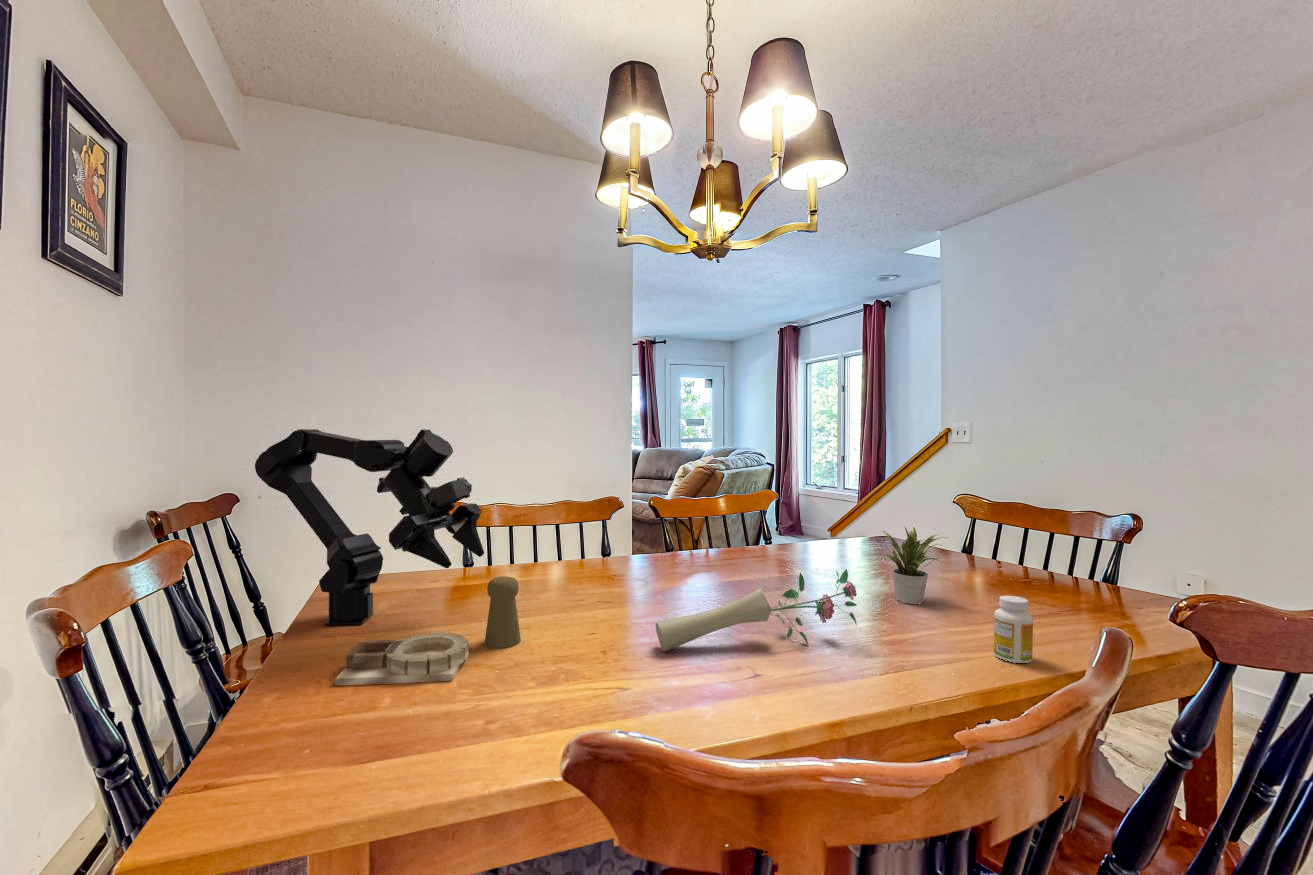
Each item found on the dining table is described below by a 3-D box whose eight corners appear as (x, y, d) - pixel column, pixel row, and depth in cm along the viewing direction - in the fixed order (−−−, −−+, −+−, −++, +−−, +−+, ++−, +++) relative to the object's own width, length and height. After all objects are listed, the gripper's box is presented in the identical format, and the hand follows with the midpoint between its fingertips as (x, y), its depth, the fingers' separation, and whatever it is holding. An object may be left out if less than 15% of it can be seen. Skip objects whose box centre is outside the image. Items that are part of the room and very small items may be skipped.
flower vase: (667, 686, 100) (844, 626, 108) (683, 696, 88) (879, 628, 97) (648, 617, 103) (822, 563, 111) (661, 617, 91) (854, 558, 99)
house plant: (964, 613, 117) (965, 533, 117) (895, 612, 117) (896, 532, 117) (931, 593, 132) (932, 521, 131) (870, 592, 132) (871, 521, 132)
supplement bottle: (1027, 654, 96) (1028, 595, 96) (1036, 666, 91) (1037, 605, 91) (990, 649, 98) (991, 592, 98) (997, 661, 93) (998, 601, 93)
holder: (334, 685, 82) (334, 664, 82) (366, 652, 94) (366, 634, 94) (458, 680, 84) (458, 659, 84) (474, 649, 96) (474, 631, 96)
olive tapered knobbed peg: (511, 649, 96) (511, 583, 96) (477, 646, 97) (478, 581, 97) (526, 637, 102) (527, 574, 101) (494, 634, 103) (495, 572, 103)
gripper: (403, 466, 94) (460, 539, 91) (473, 461, 112) (523, 521, 108) (364, 512, 96) (418, 585, 93) (439, 500, 114) (487, 560, 111)
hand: (466, 560), depth 101 cm, fingers open, 9 cm apart
